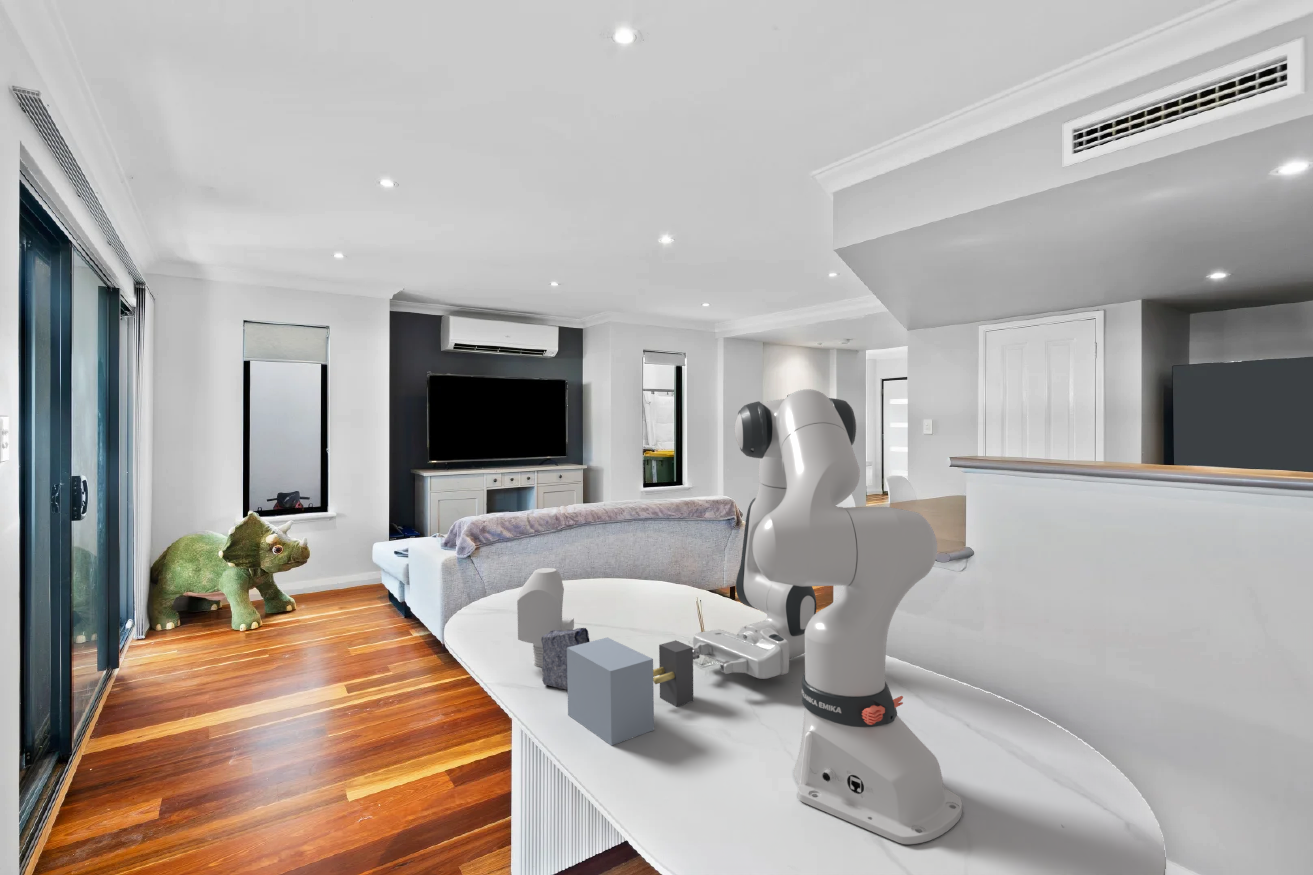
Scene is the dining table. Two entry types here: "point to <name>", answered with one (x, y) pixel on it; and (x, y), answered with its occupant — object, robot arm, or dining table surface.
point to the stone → (559, 654)
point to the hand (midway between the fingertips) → (706, 661)
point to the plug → (675, 673)
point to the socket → (610, 689)
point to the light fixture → (541, 609)
